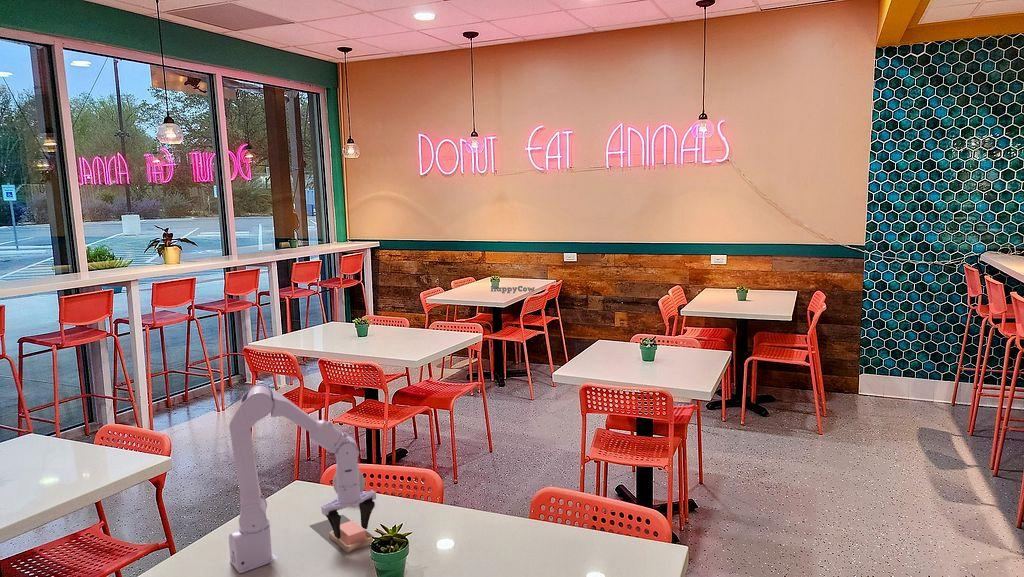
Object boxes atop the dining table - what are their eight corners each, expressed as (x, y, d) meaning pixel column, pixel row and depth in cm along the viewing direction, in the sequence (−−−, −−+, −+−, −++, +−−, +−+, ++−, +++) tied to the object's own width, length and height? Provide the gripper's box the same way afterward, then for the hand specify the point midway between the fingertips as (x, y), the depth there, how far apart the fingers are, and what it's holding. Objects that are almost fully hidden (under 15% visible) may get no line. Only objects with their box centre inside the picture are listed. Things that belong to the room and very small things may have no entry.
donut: (367, 496, 206) (365, 464, 205) (364, 501, 202) (362, 469, 201) (336, 496, 207) (334, 464, 206) (332, 500, 203) (329, 469, 202)
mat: (344, 557, 169) (344, 555, 169) (309, 527, 186) (309, 525, 186) (379, 544, 175) (379, 542, 175) (342, 516, 192) (342, 514, 192)
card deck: (337, 536, 178) (336, 525, 178) (353, 531, 181) (352, 520, 181) (349, 547, 173) (349, 536, 172) (366, 541, 175) (365, 530, 175)
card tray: (347, 553, 170) (346, 547, 170) (329, 538, 179) (328, 532, 178) (374, 542, 175) (374, 537, 175) (356, 528, 183) (355, 523, 183)
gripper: (328, 495, 167) (331, 547, 169) (380, 479, 176) (383, 528, 178) (316, 487, 173) (320, 537, 174) (367, 472, 182) (370, 519, 184)
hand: (351, 532), depth 177 cm, fingers open, 7 cm apart
